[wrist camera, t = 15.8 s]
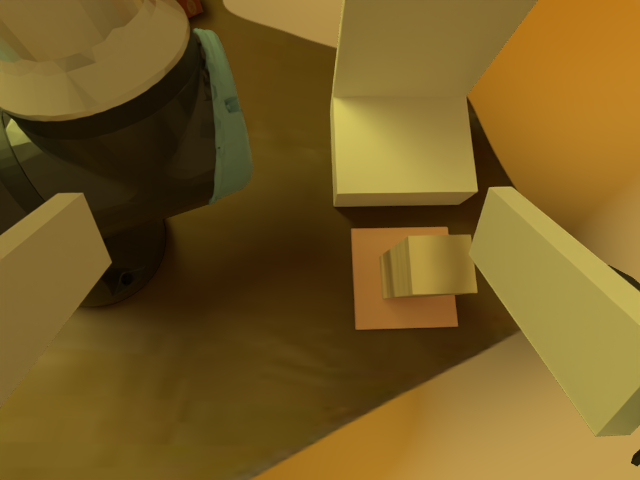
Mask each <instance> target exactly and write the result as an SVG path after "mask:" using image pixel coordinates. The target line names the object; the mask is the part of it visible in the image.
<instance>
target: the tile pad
mask: <svg viewBox="0 0 640 480" xmlns="http://www.w3.org/2000/svg"><path fill="white" fill-rule="evenodd" d="M425 235H448V227H412V228H359V229H351V247H352V269H353V290H354V311H355V329H356V330H364V329H396V328H428V327H458V321H457V311H456V302H455V295H448V296H437V297H424V298H388V299H382V292H381V276H380V260H379V257H380V256H381V255H382V254H384V253H385V252H386V251H388V250H389V249H391V248H392V247H393V246H395V245H396V244H398V243H399V242H400V241H402V240H403V239H404V238H406V237H407V236H425Z"/></svg>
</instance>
